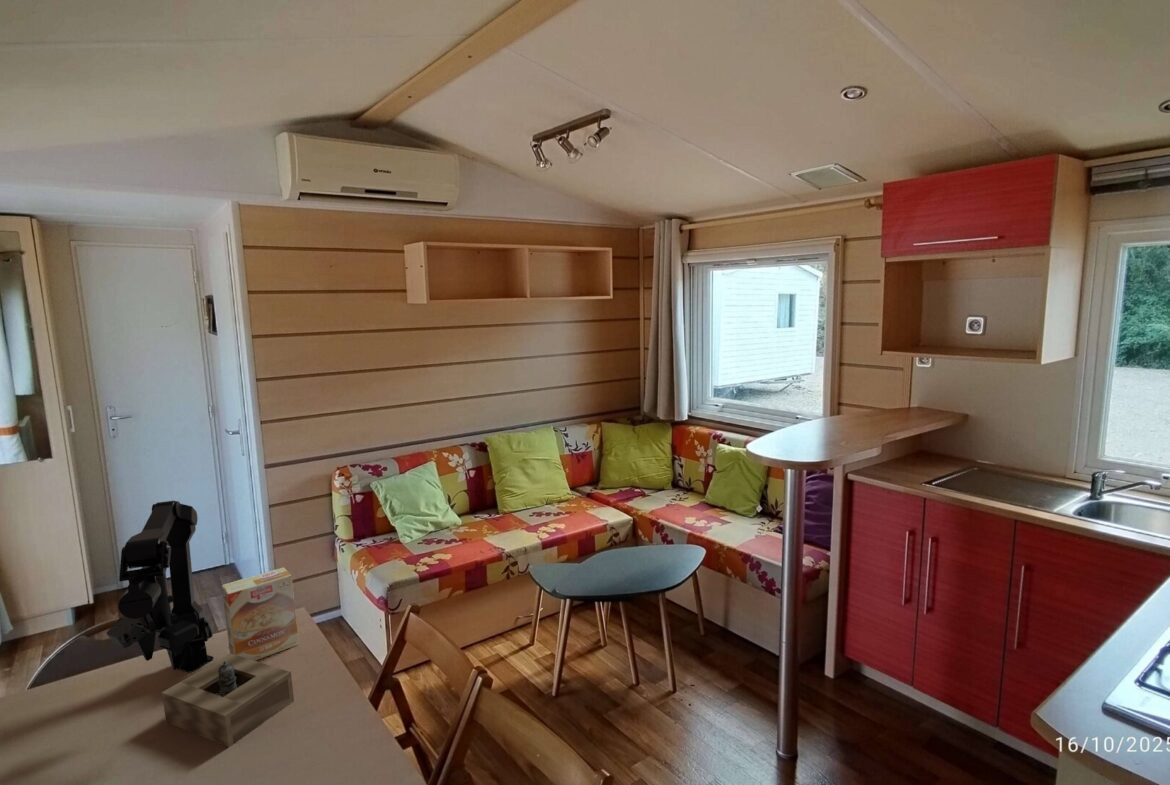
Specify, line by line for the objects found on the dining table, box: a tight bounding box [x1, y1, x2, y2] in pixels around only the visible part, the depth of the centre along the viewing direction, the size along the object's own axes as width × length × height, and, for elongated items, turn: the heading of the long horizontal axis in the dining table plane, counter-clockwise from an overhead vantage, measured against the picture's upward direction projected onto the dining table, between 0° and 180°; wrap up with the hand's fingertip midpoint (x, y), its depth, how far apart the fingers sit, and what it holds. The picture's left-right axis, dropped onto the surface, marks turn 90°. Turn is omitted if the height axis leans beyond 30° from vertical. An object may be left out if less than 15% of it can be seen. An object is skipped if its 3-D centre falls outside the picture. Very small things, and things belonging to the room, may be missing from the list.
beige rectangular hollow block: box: [161, 652, 295, 748], centre depth 140 cm, size 20×16×7 cm
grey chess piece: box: [217, 661, 238, 697], centre depth 140 cm, size 6×6×12 cm
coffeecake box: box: [221, 567, 300, 661], centre depth 163 cm, size 15×7×20 cm, turn 131°
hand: (162, 664), depth 136 cm, fingers open, 9 cm apart
